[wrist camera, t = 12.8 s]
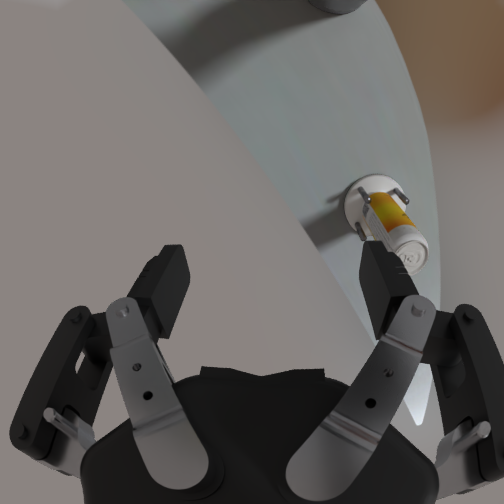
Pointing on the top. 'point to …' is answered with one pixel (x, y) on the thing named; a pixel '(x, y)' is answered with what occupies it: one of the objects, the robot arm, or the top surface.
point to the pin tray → (369, 199)
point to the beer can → (396, 231)
